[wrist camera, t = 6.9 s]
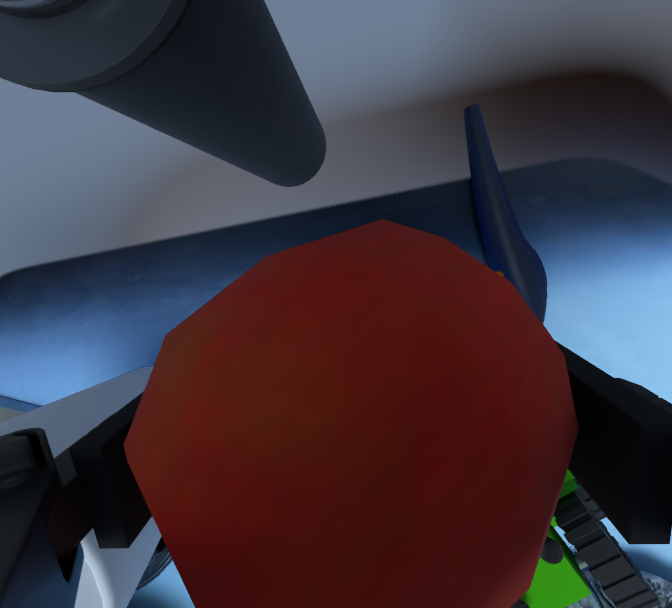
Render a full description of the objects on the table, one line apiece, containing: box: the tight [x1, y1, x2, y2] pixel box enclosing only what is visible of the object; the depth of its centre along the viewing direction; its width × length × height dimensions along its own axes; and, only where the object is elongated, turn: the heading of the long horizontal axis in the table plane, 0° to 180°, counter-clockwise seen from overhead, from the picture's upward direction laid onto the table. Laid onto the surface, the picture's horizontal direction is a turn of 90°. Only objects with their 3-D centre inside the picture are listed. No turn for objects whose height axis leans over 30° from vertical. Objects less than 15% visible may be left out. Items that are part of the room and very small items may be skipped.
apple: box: [124, 219, 579, 608], centre depth 10 cm, size 10×10×12 cm
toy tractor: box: [510, 470, 661, 608], centre depth 21 cm, size 11×16×10 cm
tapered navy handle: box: [464, 104, 547, 324], centre depth 23 cm, size 16×4×2 cm, turn 20°
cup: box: [0, 366, 161, 608], centre depth 22 cm, size 12×12×16 cm
